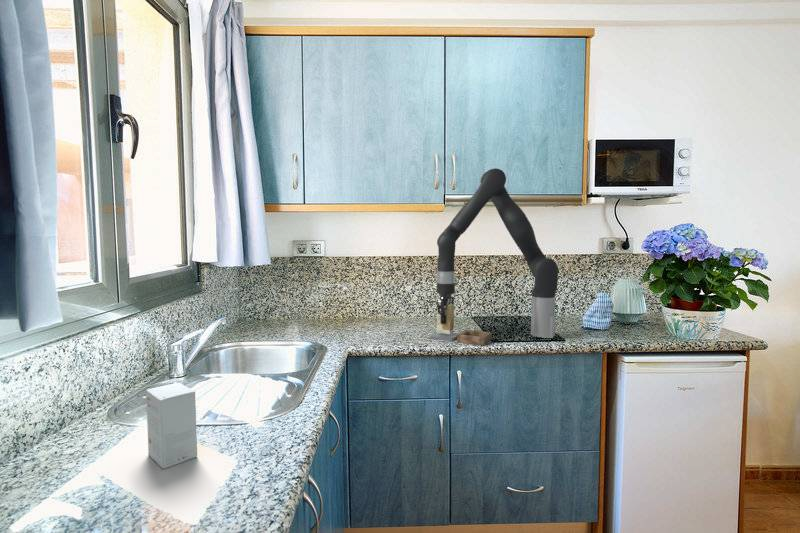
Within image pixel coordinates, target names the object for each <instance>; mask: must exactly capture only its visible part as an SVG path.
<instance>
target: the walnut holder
mask: <svg viewBox="0 0 800 533" xmlns="http://www.w3.org/2000/svg"><path fill="white" fill-rule="evenodd" d="M490 341H492V332H490V331H480V330H479V331H477V330H471V329H470V330H469V329H465V330H463V331H461V332H460V333H459V334H458V335H457V338H456V343H457V344H465V345H466V344H467V345H471V346H472V345H474V346H481V347H483V346H485V345H487V344H488V343H489V342H490Z"/></svg>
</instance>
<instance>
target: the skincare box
mask: <svg viewBox="0 0 800 533" xmlns="http://www.w3.org/2000/svg"><path fill="white" fill-rule="evenodd" d="M444 307H446V306H444ZM436 310H437V312H436V332H437V333H444V334H451V333H455V332H454V330H455V329H454V328H455V326H454V325H455V304H448V309H447V310H446V324H441V323H440V320H441V315H440V314H438V309H436ZM444 310H445V309H444Z"/></svg>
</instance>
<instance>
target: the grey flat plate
mask: <svg viewBox="0 0 800 533" xmlns="http://www.w3.org/2000/svg"><path fill="white" fill-rule="evenodd" d="M458 334H460V333H458V332H453V333H451V334H444V333H437V331H435V332H434V333H433V334H430V335H429V337H428V339H430V340H431V339H433V340H442V341H448V342H453V341H455V340H457V335H458Z"/></svg>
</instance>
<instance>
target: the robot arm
mask: <svg viewBox="0 0 800 533" xmlns="http://www.w3.org/2000/svg"><path fill="white" fill-rule="evenodd" d="M506 182H507V175H506V173H505V172H504V171H503V170H502V169H500V168H490V169H488V170H487V171H485V172H484V173H483V174H482V176H481V177H480V184H479V186H478V187H477V190H476V191H475V192H474V194H473V195H472V196H471V198H470V199H468V201H467V202H466V203H465V204H464V205H463V206H462V207H461V209H459V210H458V212H457V214H456V215H455V216H454V217H453V218H452V220H451V222H450V223H449V224H448V226H447V227H446V228H445V229H444V230H443V231H442V233H440V234H439V236H438V238H437V240H436V244H437V247H438V249H437V251H438V259H437V264H436V265H437V266H436V267H437V269H436V270H437V272H436V293H437V294H438V295H439V300H436V307H437V309H438V314H440V315H441V320H440V323H441V324H446V310H447V309H448V304H454V302H455V296H452V295H454V294H455V292H456V275H455V274H456V273H455V255H456V242H457V241H458V239H459V238H460V237H461V236H462V235H463V234H464V233H465V232H466V231H467V230H468V228H469V227H470V226H471V225H472V223H473V222H474V221H475V219H476V218H477V216H479V213H480V212H481V211H482V210H483V208H485V205H487V203H488V202H489V201H491V202H492V203H493V205H494V206H495V208H496V211H497V213H498V215H499V218H501V221H502V222H503V224H504V227H505V228H506V230H507V232H508V234H510V237H511V239H512V240H513V241H514V243H515V244H516V246H517V247H518V250H519V251H520V252H521V253H522V255H523V257H524V259H525V261H526V264H527V266H528V268H529V270H530V273H531V274H532V276H533V277H534V286H533V288H532V290H531V314H530V315H531V316H530V318H531V319H530V336H531V335H533V336H537V337H542V338H553V337H554V336H555V337H556V311H555V310H556V292H557V289H558V282H559V281H558V279H559V267H558V265H557V263H556V261H555V260H553V259H552V258H548V257H546V255H545V254H544V252H543V251H542V249H541V248H540V246H539V244H538V242H537V239H536V235H535V231H534V227H533V226H532V223H531V222H530V220H529V218H528V217H527V215H526V213H525V212H524V211H523V209H522V208H521V207H520V206H519V205H518V204H517V203H516V202H515V201H514V199H513V198H512V197H511V196H510V194H509V192H508V191H507V188H506V186H505V185H506ZM454 305H455V304H454ZM444 306H446V307H444ZM437 309H436V310H437ZM444 309H445V310H444ZM555 337H554V338H555Z"/></svg>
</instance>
